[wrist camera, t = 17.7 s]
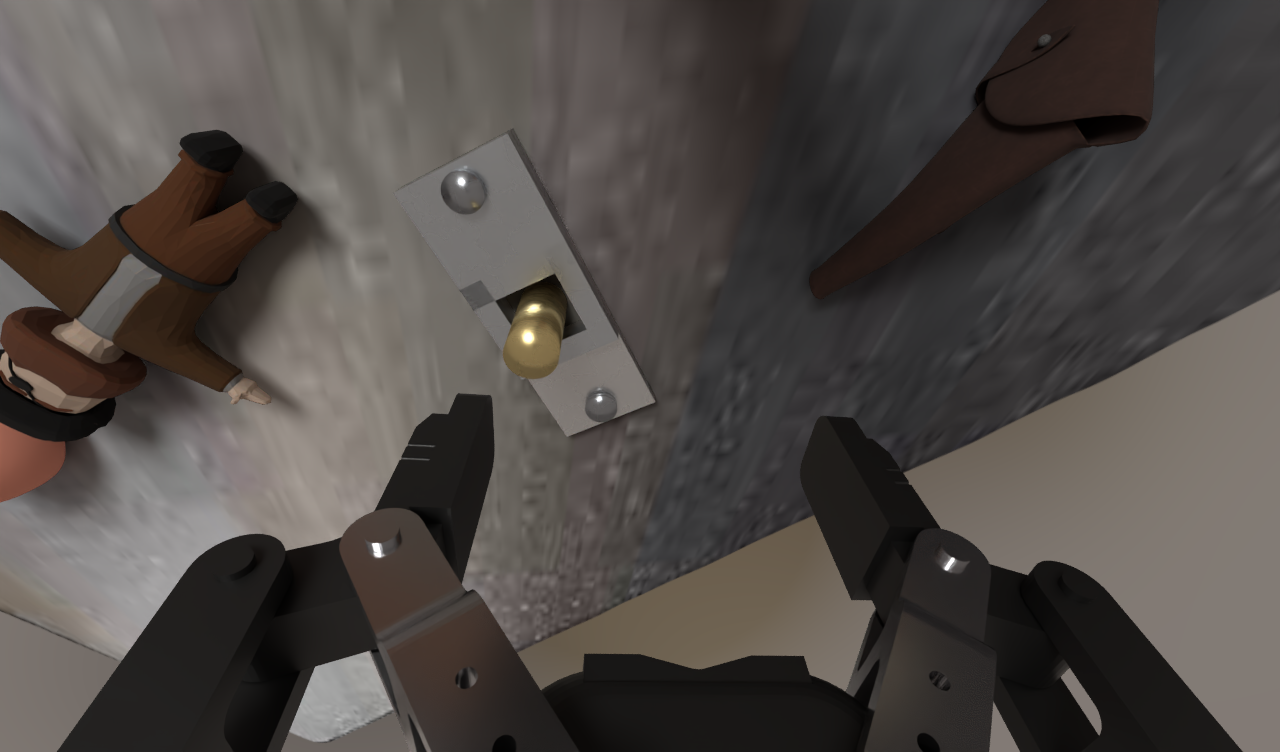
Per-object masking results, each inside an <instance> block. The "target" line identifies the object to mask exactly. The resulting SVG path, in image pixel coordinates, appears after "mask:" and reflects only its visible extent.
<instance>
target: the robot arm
mask: <svg viewBox="0 0 1280 752" xmlns="http://www.w3.org/2000/svg"><path fill="white" fill-rule="evenodd" d="M493 462H494V427H493V407H492V398H491V396H490V395H476V394H460V393H458V394H457V395H456V398H455V400H454V402H453V405H452V407H451V409H450V412H449V414H433V413H432V414H431V415H430V416H429V417H428V418H426V419H425V420H424V421H423V422H422V423H420V424H419V425H418V426H417V427H416V428H415V430H414V432H413V434H412V436H411V438H410V440H409V442H408V446H407V447H406V449H405V451H404V453H403V455H402V459H401V460H400V461H399V463H398V465H397V467H396V469H395V471H394V473H393V475H392V477H391V479H390V481H389V483H388V485H387V487H386V489H385V491H384V493H383V495H382V497H381V499H380V501H379V503H378V505H377V507H376V509H375V511H374V512H371V513H369V514H367V515H364V516H363V517H361V518H359V519H358V520H356V521H355V522H354V523H353V524H351V525H350V526H349V528H348V529H347V530H346V531H345V533H344V534H343V536H342V537H341V538H338V539H335V540H333V541H329V542H325V543H320V544H316V545H311V546H306V547H302V548H297V549H292V550H288V551H285V548H284V545H283V544H282V543H281V541H279V540H278V539H277V538H275V537H272V536H270V535H265V534H249V535H243V536H239V537H235V538H232V539H229V540H226V541H224V542H222V543H220V544H218V545H216V546H214V547H212V548H211V549H209V550H207V551H206V552H205V553H203V554H202V555H201V556H199V557H198V558H197V559H196V560H195V561H194V562H193V563H192V564H191V565H190V567H189V568H188V569H187V571H186V572H185V573H184V575H183V576H182V578H181V579H180V580H179V582H178V583H177V585H176V586H175V587H174V589H173V590H172V592H171V593H170V594H169V596H168V597H167V599H166V600H165V601H164V603H163V604H162V606H161V607H160V608H159V610H158V611H157V613H156V614H155V615H154V617H153V618H152V620H151V621H150V622H149V624H148V625H147V627H146V628H145V629H144V631H143V632H142V634H141V635H140V636H139V638H138V639H137V641H136V642H135V643H134V645H133V646H132V648H131V649H130V650H129V652H128V653H127V655H126V656H125V657H124V659H123V660H122V662H121V663H120V664H119V666H118V667H117V669H116V670H115V671H114V673H113V674H112V675H111V677H110V678H109V680H108V681H107V683H106V684H105V685H104V687H103V688H102V690H101V691H100V692H99V694H98V695H97V697H96V698H95V700H94V701H93V702H92V704H91V705H90V706H89V708H88V709H87V710H86V712H85V713H84V715H83V716H82V718H81V719H80V720H79V722H78V723H77V724H76V726H75V727H74V729H73V730H72V731H71V733H70V734H69V736H68V737H67V739H66V740H65V741H64V743H63V744H62V745H61V747H60V748H59V750H58V751H57V752H281V750H282V747H283V745H284V742H285V740H286V737H287V735H288V732H289V730H290V728H291V725H292V723H293V720H294V718H295V715H296V713H297V710H298V708H299V705H300V703H301V700H302V698H303V695H304V693H305V690H306V688H307V685H308V683H309V680H310V678H311V675H312V673H313V670H314V668H315V666H318V665H322V664H325V663H329V662H332V661H336V660H339V659H343V658H346V657H349V656H353V655H356V654H360V653H363V652H367V651H369V652H370V654H371V657H372V659H373V661H374V664H375V666H376V669H377V671H378V673H379V676H380V678H381V680H382V683H383V685H384V688H385V690H386V692H387V695H388V697H389V700H390V702H391V704H392V707H393V709H394V712H395V714H396V716H397V719H398V721H399V724H400V726H401V729H402V731H403V734H404V736H405V739H406V742H407V745H408V748H409V751H410V752H989V747H990V736H991V723H992V711H993V701H994V703H995V705H996V707H997V709H998V710H999V712H1000V714H1001V716H1002V718H1003V720H1004V722H1005V724H1006V726H1007V728H1008V730H1009V731H1010V733H1011V735H1012V737H1013V739H1014V741H1015V743H1016V745H1017V746H1018V748H1019V750H1020V752H1242V750H1241V749H1240V748H1239V747H1238V746H1237V745H1236V743H1235V742H1234V741H1233V740H1232V738H1231V737H1230V736H1229V735H1228V734H1227V732H1226V731H1225V730H1224V729H1223V728H1222V727H1221V725H1220V724H1219V723H1218V722H1217V721H1216V719H1215V718H1214V717H1213V716H1212V715H1211V714H1210V713H1209V711H1208V710H1207V709H1206V708H1205V706H1204V705H1203V704H1202V703H1201V702H1200V701H1199V699H1198V698H1197V697H1196V696H1195V695H1194V694H1193V692H1192V691H1191V690H1190V689H1189V688H1188V686H1187V685H1186V684H1185V683H1184V682H1183V680H1182V679H1181V678H1180V677H1179V676H1178V674H1177V673H1176V672H1175V671H1174V670H1173V668H1172V667H1171V666H1170V665H1169V664H1168V663H1167V661H1166V660H1165V659H1164V658H1163V657H1162V655H1161V654H1160V653H1159V652H1158V651H1157V650H1156V649H1155V647H1154V646H1153V645H1152V644H1151V642H1150V641H1149V640H1148V639H1147V638H1146V637H1145V635H1144V634H1143V633H1142V632H1141V631H1140V629H1139V628H1138V627H1137V626H1136V625H1135V623H1134V622H1133V621H1132V620H1131V619H1130V618H1129V616H1128V615H1127V614H1126V613H1125V612H1124V610H1123V609H1122V608H1121V607H1120V606H1119V605H1118V603H1117V602H1116V601H1115V600H1114V599H1113V597H1112V596H1111V595H1110V594H1109V593H1108V592H1107V591H1106V590H1105V588H1104V587H1102V586H1101V585H1100V584H1099V583H1098V582H1097V581H1095V580H1094V579H1093V578H1091V577H1090V576H1088V575H1087V574H1085V573H1084V572H1082V571H1080V570H1078V569H1076V568H1074V567H1072V566H1069V565H1067V564H1064V563H1060V562H1055V561H1042V562H1040V563H1038V564H1037V565H1036V566H1035V567H1034V568H1033V570H1032V571H1031V572H1030V573H1029V575H1025V574H1022V573H1018V572H1015V571H1011V570H1007V569H1004V568H1001V567H997V566H994V565H990V564H989V562H988V560H987V559H986V557H985V556H984V554H982V552H981V551H980V550H979V549H978V548H977V547H976V546H975V545H973V544H972V543H971V542H970V541H968V540H966V539H965V538H963V537H961V536H959V535H958V534H955V533H953V532H951V531H947V530H944V529H941V528H940V527H939V525H938V524H937V522H936V521H935V519H934V518H933V516H932V515H931V513H930V512H929V510H928V509H927V508H926V506H925V505H924V503H923V502H922V500H921V499H920V497H919V496H918V494H917V493H916V492H915V490H914V489H913V487H912V485H909V482H908V480H907V478H906V477H905V475H904V474H903V472H900V468H899V466H898V465H897V463H896V462H895V461H894V459H893V458H892V456H891V455H890V453H889V452H888V451H886V450H885V449H884V448H883V447H881V446H880V445H879V444H878V443H877V442H875V441H874V440H873V439H867V438H866V436H865V435H864V433H863V432H862V430H861V429H860V427H859V426H858V424H857V422H856V421H855V420H854V419H853V418H848V417H831V416H821V417H819V418H818V420H817V421H816V424H815V426H814V429H813V432H812V435H811V438H810V440H809V443H808V446H807V449H806V451H805V454H804V457H803V460H802V463H801V469H800V478H801V484H802V487H803V490H804V492H805V494H806V496H807V499H808V501H809V503H810V506H811V508H812V510H813V513H814V515H815V517H816V520H817V522H818V524H819V526H820V529H821V531H822V533H823V536H824V538H825V540H826V542H827V545H828V547H829V549H830V552H831V554H832V556H833V559H834V561H835V563H836V566H837V568H838V570H839V572H840V575H841V577H842V579H843V582H844V584H845V586H846V589H847V591H848V593H849V595H850V598H851V600H872V601H873V603H874V605H875V608H876V609H875V611H874V613H873V614H872V617H871V618H870V621H869V624H868V628H867V630H866V633H865V637H864V639H863V643H862V645H861V648H860V651H859V655H858V658H857V661H856V664H855V667H854V670H853V673H852V676H851V679H850V682H849V684H848V687H847V689H846V691H843V690H842V689H840V688H838V687H836V686H834V685H833V684H831V683H829V682H827V681H824V680H822V679H819V678H817V677H814V676H811V675H809V671H808V668H807V665H806V662H805V659H804V656H748V657H745V658H741V659H738V660H734V661H730V662H727V663H723V664H720V665H716V666H712V667H709V668H705V669H699V670H698V669H692V668H688V667H684V666H681V665H677V664H674V663H670V662H666V661H663V660H659V659H655V658H652V657H648V656H644V655H641V654H584V664H583V672H579V673H576V674H572V675H569V676H567V677H564V678H562V679H560V680H557V681H556V682H554V683H552V684H551V685H549V686H547V687H545V688H544V689H542V690H540V689H539V687H538V685H537V684H536V682H535V681H534V679H533V678H532V676H531V674H530V673H529V671H528V670H527V668H526V667H525V665H524V664H523V662H522V661H521V659H520V657H519V656H518V654H517V652H516V651H515V649H514V648H513V646H512V644H511V643H510V641H509V640H508V638H507V637H506V635H505V633H504V632H503V630H502V629H501V627H500V626H499V624H498V622H497V621H496V619H495V618H494V616H493V614H492V613H491V611H490V610H489V608H488V607H487V605H486V603H485V602H484V600H483V599H482V597H481V596H480V595H479V594H478V593H477V592H476V591H475V590H473V589H472V590H470V591H468V592H467V591H466V590H465V589H464V587H463V586H462V581H463V577H464V573H465V570H466V566H467V562H468V558H469V555H470V551H471V547H472V544H473V540H474V536H475V532H476V529H477V525H478V521H479V517H480V514H481V510H482V506H483V503H484V499H485V495H486V491H487V488H488V484H489V480H490V477H491V473H492V468H493ZM1069 668H1071V670H1072V672H1073V673H1074V675H1075V676H1076V678H1077V679H1078V681H1079V682H1080V683H1081V685H1082V686H1083V688H1084V689H1085V691H1086V692H1087V694H1088V695H1089V697H1090V698H1091V700H1092V701H1093V703H1094V704H1095V706H1096V707H1097V709H1098V711H1099V714H1100V718H1101V723H1102V730H1101V734H1100V735H1098V734H1097V732H1096V731H1095V729H1094V727H1093V726H1092V724H1091V723H1090V721H1089V720H1088V718H1087V717H1086V715H1085V714H1084V712H1083V711H1082V709H1081V708H1080V706H1079V705H1078V703H1077V702H1076V700H1075V699H1074V697H1073V695H1072V694H1071V692H1070V691H1069V689H1068V688H1067V686H1066V685H1065V683H1064V682H1063V681H1062V679H1061V676H1062V675H1063V674H1064V673H1065V672H1066V671H1067V670H1068V669H1069Z"/></svg>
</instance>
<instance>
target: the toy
mask: <svg viewBox="0 0 1280 752" xmlns="http://www.w3.org/2000/svg"><path fill="white" fill-rule="evenodd" d="M180 145H181V147H182V148H183V150H181V151H180V153H179V155H178V156H179V157H180V158H181V161H180V162H179V163H178V164H177V165H176V167H175V168H174V169H173V170H172V172H171V173H170V174H169V175H168V176H167V178H166V179H165V180H164V181H163V182H162V184H161V185H160V186H159V187H158V188H157V189H156V190H155V191H154V192H152V193H151V194H149V195H148V196H146V197H145V198H144V199H142V200H141V201H139V202H138V203H137V204H134V205H128V206H123V207H122V208H121V209H119V210H118V211H117V212H115V213H114V214H113V215H112V216H111V217H110V218H109V219H108V220H109V223H108V224H107V225H106V226H105V227H104V228H103V229H101V230H100V231H99V232H98V233H97V234H96V235H94V236H93V237H92V238H91V239H90V240H89V241H87V242H86V243H85V244H84V245H83V246H81V247H79V248H76V249H74V250H67V249H65V248H62V247H60V246H58V245H56V244H55V243H53V242H51V241H50V240H48V239H46V238H44V237H43V236H41V235H39V234H38V233H36V232H35V231H33V230H32V229H31V228H29V227H28V226H26V225H25V224H24V223H22V222H21V221H19V220H18V219H16V218H15V217H14V216H12V215H11V214H9V213H8V212H7V211H3V210H0V258H1V259H2V260H3V261H4V262H5V263H7V264H8V265H9V266H10V267H11V268H12V269H13V270H15V271H16V272H17V273H18V274H19V275H20V276H22V277H23V278H24V279H25V280H26V281H27V282H28V283H30V284H31V285H32V286H33V287H34V288H35V289H36V290H38V291H39V292H40V293H41V294H42V295H44V296H45V297H46V298H47V299H48V300H50V301H51V302H52V303H53V304H54V305H56V306H57V307H58V308H59V309H60V310H62V311H59V310H56V309H52V308H45V307H27V308H22V309H19V310H17V311H15V312H13V313H11V314H10V315H8V316H7V318H6V319H5V321H4V323H3V326H2V332H1V339H0V342H1V344H2V346H3V348H4V349H1V350H0V423H2V424H4V425H6V426H8V427H10V428H12V429H14V430H17V431H19V432H21V433H24V434H26V435H28V436H30V437H33V438H36V439H40V440H45V441H52V442H63V441H73V440H78V439H81V438H84V437H87V436H89V435H90V434H92V433H93V432H95V431H96V430H97V429H98V428H100V427H104V426H106V425H107V424H108V422H109V421H110V420H111V419H112V417H113V415H114V411H115V406H116V402H115V398H114V397H116V396H118V395H120V394H123V393H125V392H128V391H130V390H132V389H134V388H135V387H137V386H138V385H140V383H141V382H142V381H143V380H144V379H145V377H146V372H147V368H146V366H145V365H144V363H143V362H142V360H141V359H140V358H139V357H141V358H143V359H145V360H147V361H149V362H152V363H154V364H156V365H158V366H161V367H163V368H165V369H168V370H170V371H172V372H175V373H177V374H179V375H182V376H184V377H186V378H189V379H191V380H193V381H196V382H198V383H200V384H203V385H205V386H207V387H209V388H211V389H214V390H216V391H218V392H228V393H229V395H230V396H231V397H232V398H233V399H232V401H231V404H236V403H237V402H238V401H239V400H240V399H246V400H249V401H253V402H256V403H259V404H262V405H265V404H268V403H271V397H270V396H269V395H268V394H267V393H265V392H264V391H263V390H262V389H260V388H259V387H258V385H257V384H256V382H255V381H252V380H250V379H247V378H245V377H243V373H242V370H241V369H239V368H237V367H236V366H234V365H233V364H231V363H230V362H228V361H226V360H225V359H223V358H222V357H220V356H219V355H217V354H216V353H215V352H214V351H212V350H211V349H210V348H209V347H207V346H206V345H205V344H204V343H202V342H201V341H200V339H199V338H198V337H197V336H196V334H195V330H194V328H195V325H196V322H197V321H198V319H199V318H200V316H201V315H202V313H203V311H204V310H205V309H206V308H207V307H208V306H209V304H210V303H211V302H212V301H213V300H214V299H215V298H216V296H217V295H218V294H219V293H220V292H221V291H223V290H225V289H226V288H227V287H228V286H230V285H231V284H232V283H233V282H234V281H235V279H236V278H237V273H238V268H237V267H238V265H239V264H240V263H241V261H242V260H243V259H244V257H245V256H246V255H247V253H248V252H249V251H250V250H251V249H252V248H253V247H254V246H255V245H256V244H258V243H259V242H260V241H261V240H262V239H263V238H264V237H265V236H266V235H267V234H268V233H269V232H270V231H277V230H279V229H280V228H281V225H282V220H284V219H285V218H286V217H287V215H288V214H289V213H290V212H291V211H292V209H293V208H294V206H295V204H296V202H297V201H298V198H297V195H296V194H295V193H294V192H293V191H292V190H291V189H290V188H289V187H288V186H287V185H285V184H284V183H282V182H277V181H274V182H272V183H269V184H266V185H264V186H261V187H258V188H256V189H253V190H252V191H250V192H248V194H247V195H246V197H245V199H244V200H242V201H240V202H239V203H237V204H235V205H233V206H231V207H229V208H227V209H225V210H224V211H222V212H220V213H218V210H217V207H216V203H217V199H218V197H219V195H220V193H221V191H222V189H223V187H224V185H225V183H226V181H227V178H228V176H231V175H233V173H234V171H233V167H234V165H235V164H236V162H237V161H238V159H239V158H240V156H241V154H242V153H243V149H242V146H241V145H240V144H239V143H238V142H237V141H236V140H235V139H234V138H232V137H231V136H230V135H229V134H227V133H226V132H223V131H220V130H212V131H205V132H198V133H191V134H189V135H187V136H184V137H183V138H182V139H181V141H180Z"/></svg>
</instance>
